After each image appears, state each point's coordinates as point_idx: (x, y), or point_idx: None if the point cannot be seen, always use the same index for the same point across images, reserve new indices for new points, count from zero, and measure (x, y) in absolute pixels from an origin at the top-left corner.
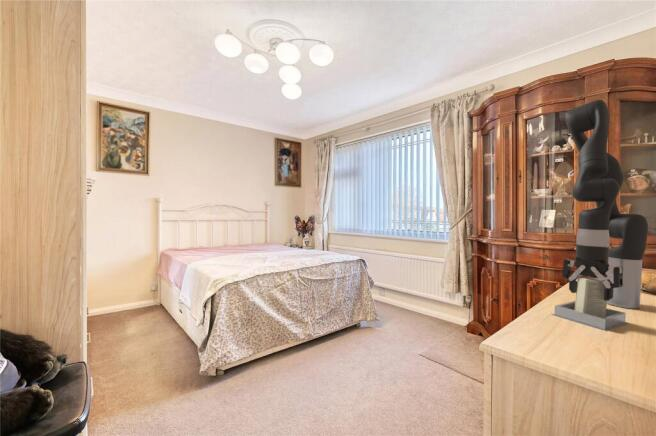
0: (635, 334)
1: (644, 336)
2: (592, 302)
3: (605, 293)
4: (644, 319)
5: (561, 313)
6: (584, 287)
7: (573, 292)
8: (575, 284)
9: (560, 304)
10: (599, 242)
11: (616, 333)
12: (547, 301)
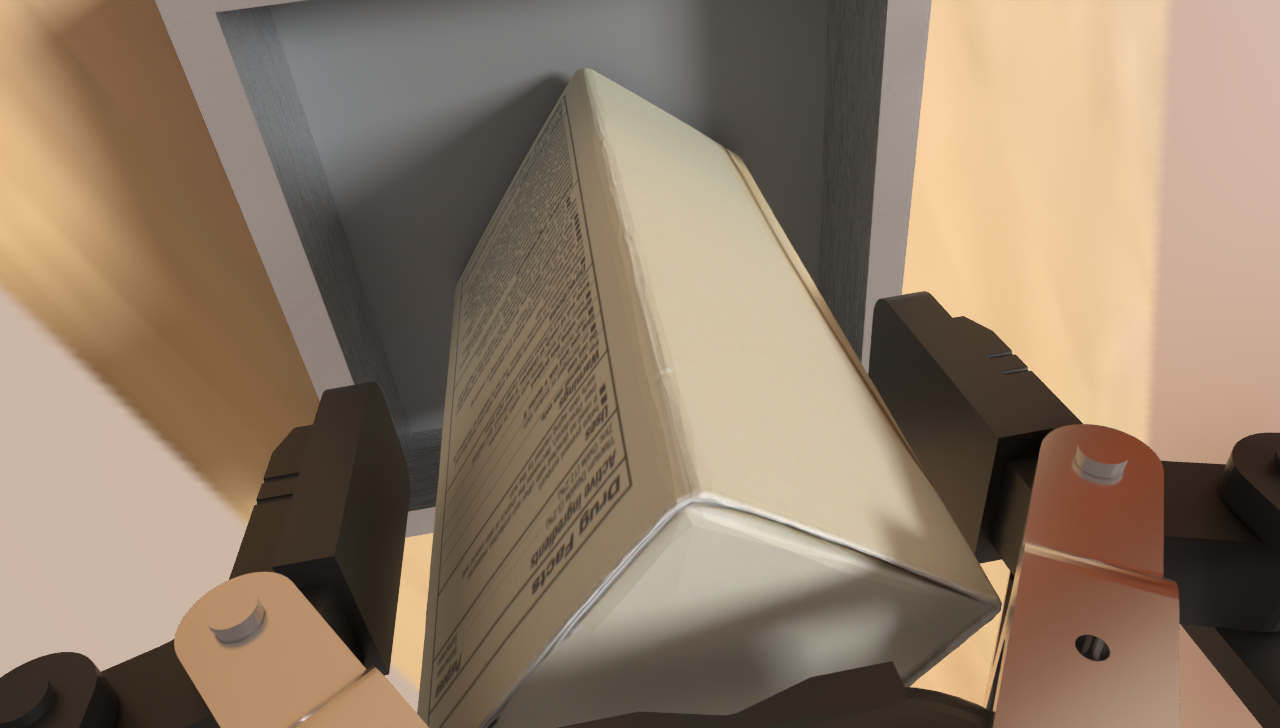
0: (142, 277)
1: (81, 307)
2: (534, 277)
3: (330, 467)
4: None
5: None
6: (677, 335)
7: (879, 303)
8: (947, 460)
9: (919, 54)
10: None
11: (182, 82)
12: (1136, 400)
